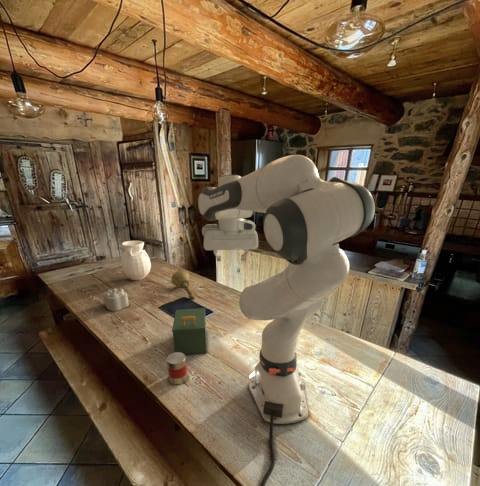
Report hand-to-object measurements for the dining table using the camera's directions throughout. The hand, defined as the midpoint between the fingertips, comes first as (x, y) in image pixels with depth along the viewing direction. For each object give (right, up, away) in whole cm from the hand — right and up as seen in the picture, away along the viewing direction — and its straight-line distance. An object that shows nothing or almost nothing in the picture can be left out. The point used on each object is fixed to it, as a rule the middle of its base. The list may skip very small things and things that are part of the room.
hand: (231, 260), depth 101 cm
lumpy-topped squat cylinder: (-65, -20, +47) cm, 83 cm away
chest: (-18, -34, +15) cm, 41 cm away
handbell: (-28, -13, +63) cm, 70 cm away
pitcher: (-67, -3, +84) cm, 108 cm away
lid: (-18, -24, +9) cm, 31 cm away
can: (-19, -43, -5) cm, 47 cm away
